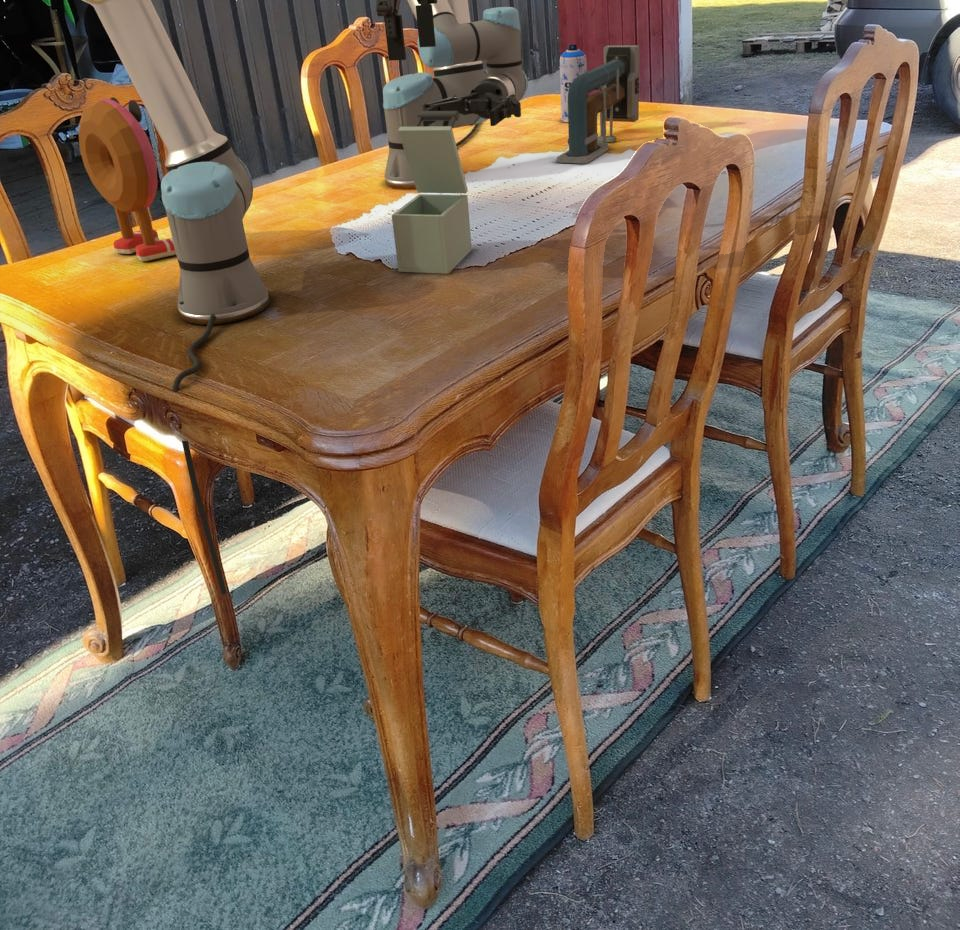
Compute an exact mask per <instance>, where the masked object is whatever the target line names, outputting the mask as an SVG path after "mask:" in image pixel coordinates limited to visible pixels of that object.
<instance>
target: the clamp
mask: <svg viewBox="0 0 960 930" xmlns="http://www.w3.org/2000/svg"><path fill="white" fill-rule="evenodd" d="M593 91H598V92H594V93H593V94H591V95H589V94H590V93H592V92H593ZM639 91H640V45H637V44H635V45H633V44H632V45H630V44H629V45H621V44H620V45H606V46H604V47H603V64H601V65H599V66H597V67H595V68H592V69H590V70H587V72H586V73H584V74H581V75H579V76H578V77H577V78H576V79H575V80H574V81H573V82H572V84H571V85H570V88H569V91H568V122H567V125H568V128H567V129H568V139H567V144H568V150H566V151H565V152H563V153H562V154H560V155H558V156H557V157H556V159H555V162H557V163H562V164H563V163H564V164H588V163H590V162H592V161H593V160H595V159H596V158H599V157H600V156H601V155H603V154H604V153H606V152H608V151H610V150H611V147H610V146H609V143H613V142H616V141H617V137H616V136H615V135H613V131H614V130H613V127H614V126H613V125H614V124H613V122H617V123H619V122H622V123H635V122H637V121H638V120H640V119H639V118H640V116H639V113H640V109H639V107H640V104H639V103H640V102H639V101H640V92H639ZM598 114H599V121H600V122H599V125H600V126H599V128H600V129H599V130H600V131H599V132H600V135H599V133H598ZM607 122H609V135H607Z"/></svg>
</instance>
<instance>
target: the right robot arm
mask: <svg viewBox="0 0 960 930" xmlns="http://www.w3.org/2000/svg"><path fill="white" fill-rule="evenodd" d="M406 2H407V3H408V5H409V7H410V10H411V11H412V14H413V16H414V18H415V20H416V21H417V15H416V6H417V5H421V4H418V2H417V0H406ZM431 5H432V10H433V21H434V32H435V43H436V46H435V47H420V46H419V35H418V37H417V49H418V53H419V58H420V61H421V62H422V63H423V65H425V67H428V68H432V70H433V76H432V74H431V73H429V72H415V73H410V74H405V75H401V76H398V77H396V78H393V79H391V80H389V81H388V82H387V83H386V84H385V85H384V86H383V88H382V96H383V97H382V101H383V102H382V107H383V111H384V112H383V113H384V119H385V127H386V135H387V136H386V137H387V142H388V155H387V160H386V166H385V169H384V170H385V171H384V183H385V185H387V187H390V188H393V189H394V188H395V189H404V190H412V189H416V186H415V183H414V180H413V177H412V173H411V170H410V167H409V164H408V160H407V157H406V154H405V151H404V148H403V144H402V141H401V138H400V135H399V131H398V130H399V128H400V127H414V125H415V123H416V121H417V119H418V117H417V115H418V112H419V111H458V112H459V120H458V121H456V122H455V124H454V126H453V128H452V129H457V128H462V127H470V126H471V127H472V126H473V127H472V129H471V131H470V132H469V133H468V134H467V135H465V137H463V138H462V139H461V140H459V141H458V142H456V146H457V147H458V146H461V144H463V143H464V142H465V141H466V140H468V139H469V138H470V137H471V136H472V135H473V134H474V133H475V132H476V130H477V128H478V127H479V124H481V123H484V122H486V121H488V120H489V121H490V122H489V123H490V127H495V126H497V125H498V124H500V123H501V122H502V121H504V120H505V119H510V118H512V116H514V118H520V117H522V109H521V108H522V107H521V106H522V105H521V104H522V103H521V102H520V101H521V100H522V99H523V97H524V96H525V95H526V93H527V91H528V88H529V87H528V86H529V80H528V76H527V74H526V73H525V71H524V70H523V62H522V47H521V46H522V42H521V40H522V39H521V32H522V30H521V22H520V14H519V11H518V9H517V8H515V7H512V6H499V7H490V8H487V9H484V10H483V13H482V19H481V20H476V21H471V15H470V9H469V2H468V0H437V3H436V4H431ZM483 61H485V64H486V66H485V67H486V69H485V68H484V64H483ZM449 122H450V121H422V122H421V125H420V127H430V126H448V125H449Z"/></svg>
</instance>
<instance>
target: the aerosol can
mask: <svg viewBox="0 0 960 930" xmlns="http://www.w3.org/2000/svg"><path fill="white" fill-rule="evenodd" d="M586 72H588V63H587V55H586V54H585V52H584V51H583V50H581V49H579V48H578V44H577V43H574V44H568V48H567V49H566V50H565V51H563V52H562V53H561V55H560V56H559V79H560V81H559V83H560V84H559V85H560V113H561V115H560V116H561V117H560V121H561V122H563V123H568V91H569V88H570V85H571V84H572V82H573V81H574V80H575V79H576V78H577V77H578V76H579V75H581V74H584V73H586Z"/></svg>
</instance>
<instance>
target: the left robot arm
mask: <svg viewBox="0 0 960 930" xmlns="http://www.w3.org/2000/svg"><path fill="white" fill-rule="evenodd" d="M81 1H82V2H84V3H87V4H89V5H91V7H93V8H94V11H95V13H96V14H97V16H98V19H99V20H100V22H101V24H102V27H103V28H104V30H105V32H106V34H107V35H108V37H109V39H110V42H111V43H112V46H113V47H114V50H115V51H116V53H117V55H118V57H119V59H120V61H121V63H122V65H123V67H124V69H125V71H126V73H127V75H128V76H129V79H130V81H131V83H132V85H133V86H134V88H135V90H136V92H137V94H138V96H139V98H140V100H141V102H142V103H143V104H142V105H143V106H144V108H145V110H146V112H147V114H148V116H149V117H150V119H151V121H152V124H153V125H154V127H155V129H156V131H157V133H158V136H159V137H160V139H161V141H162V143H163V145H164V146H165V149H166V151H167V153H166V158H165V159H164V167H165V169H166V170H167V173H166V174H165V175H164V176H163V177H162V179H161V182H160V191H161V201H162V205H163V207H164V209H165V214H166V217H167V221H168V226H169V230H170V234H171V238H173V242H174V247H175V251H176V255H175V256H176V258H177V262H178V266H179V283H178V294H177V310H178V314H179V318H180V319H182V320H183V321H184V322H186V323H189V324H193V325H202V326H203V325H204V326H205V325H206V328H205V331H204V332H203V334H202V335H201V336H200V337H199V338H198V339H196V340H195V341H194V342H193V343H192V344H190V346H189V347H188V349H187V355H188V358H189V359H190V360H191V361H192V363H193V366H192V367H190V368H187V369H184V370H183V371H181V372H180V373H179V374H177V376H175V378H174V380H173V384H172V389H171V391H172V393H177V392H178V391H180V385H181V383H182V381H183V379H185V378H186V377H189V376H190V375H194V374H196V373H197V372H198V371H199V370H200V367H201V361H200V360H199V358H198V357H197V355H196V354H195V350H196V349H197V348H198V347H199V346H201V345H202V344H203V343H204V342H205V341H206V340H207V339H209V337H210V335H211V333H212V330H213V327H214V325H222V324H230V323H233V322H239V321H241V320H245V319H248V318H251V317H253V316H256V315H258V314H260V312H263V311H264V310H265V309H266V308H267V307H268V306H269V305H270V296H269V291H268V289H267V287H266V284H265V283H264V282H263V280H262V278H261V276H260V274H259V272H258V270H257V269H256V267H255V265H254V264H253V262H252V260H251V257H250V251H249V246H248V241H247V236H246V232H245V227H244V220H243V219H244V217H245V215H246V214H247V212H248V210H249V208H250V207H251V203H252V201H253V195H254V187H253V179H252V176H251V173H250V171H249V169H248V167H247V166H246V164H245V163H244V161H242V160H241V159H240V158H239V157H238V156H236V153H235V152H234V149H233V147H232V145H231V143H230V141H229V139H228V138H227V136H225V135H223V134H220V133H218V132H216V131H215V130H214V128H213V126H212V124H211V122H210V119H209V118H208V116H207V114H206V112H205V110H204V108H203V105H202V103H201V102H200V100H199V97H198V95H197V93H196V91H195V89H194V87H193V85H192V82H191V81H190V78H189V77H188V75H187V72H186V70H185V68H184V66H183V64H182V62H181V60H180V58H179V56H178V54H177V51H176V50H175V47H174V46H173V43H172V41H171V39H170V37H169V35H168V33H167V31H166V29H165V27H164V25H163V23H162V21H161V18H160V17H159V14H158V12H157V11H156V8H155V6H154V4H153V2H152V0H81ZM401 1H402V0H376V5H375V6H376V7H375V9H376V10H375V11H376V15H377V17H383V20H384V29H385V39H386V47H387V55H388V61H406V60H407V55H406V53H407V52H406V44H405V36H404V34H405V33H404V26H403V25H404V24H403V17H402V14H399V13H400V7H401ZM417 2H418V4H421V5H417V6H416V15H417V20H416V24H417V35H418V36H419V46H420V47H435V46H436V43H435V32H434V21H433V10H432V5H431V4H436V3H437V0H417ZM181 444H182V448H183V454H184V458H185V463H186V467H187V472H188V475H189V479H190V483H191V487H192V493H193V496H194V500H195V503H196V507H197V510H198V514H199V517H200V522H201V525H202V528H203V532H204V536H205V539H206V543H207V546H208V550H209V554H210V558H211V561H212V564H213V565H212V566H213V568H214V572H215V576H216V579H217V583H218V587H219V590H220V594H221V595H226V594H227V589H226V588H227V587H226V585H225V580H224V577H223V574H222V569H221V566H220V561H219V558H218V554H217V550H216V546H215V543H214V539H213V536H212V533H211V529H210V526H209V525H210V524H209V522H208V517H207V514H206V511H205V507H204V503H203V499H202V495H201V491H200V487H199V484H198V483H199V482H198V479H197V475H196V471H195V466H194V462H193V457H192V454H191V448H190V442H189V440H181Z"/></svg>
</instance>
